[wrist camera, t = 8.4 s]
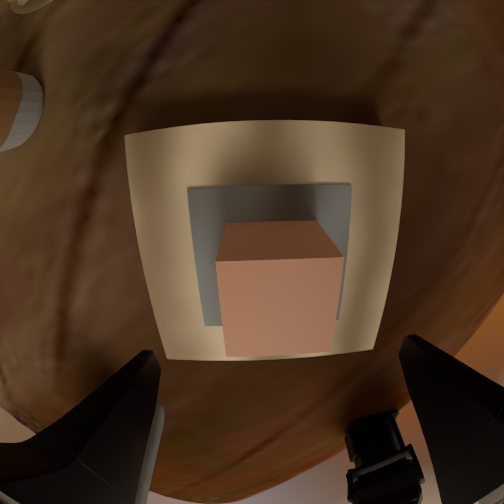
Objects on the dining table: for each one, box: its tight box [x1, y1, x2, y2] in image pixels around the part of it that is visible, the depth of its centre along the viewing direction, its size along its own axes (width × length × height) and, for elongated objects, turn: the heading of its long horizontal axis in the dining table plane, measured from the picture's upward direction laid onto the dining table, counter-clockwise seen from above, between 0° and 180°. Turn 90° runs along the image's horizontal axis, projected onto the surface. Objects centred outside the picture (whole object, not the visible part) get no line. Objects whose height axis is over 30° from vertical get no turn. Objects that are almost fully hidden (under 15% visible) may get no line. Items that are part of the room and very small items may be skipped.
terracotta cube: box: [215, 220, 344, 357], centre depth 14 cm, size 5×5×5 cm
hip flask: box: [135, 402, 164, 504], centre depth 20 cm, size 16×4×20 cm, turn 157°
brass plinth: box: [125, 120, 405, 360], centre depth 18 cm, size 16×16×3 cm
